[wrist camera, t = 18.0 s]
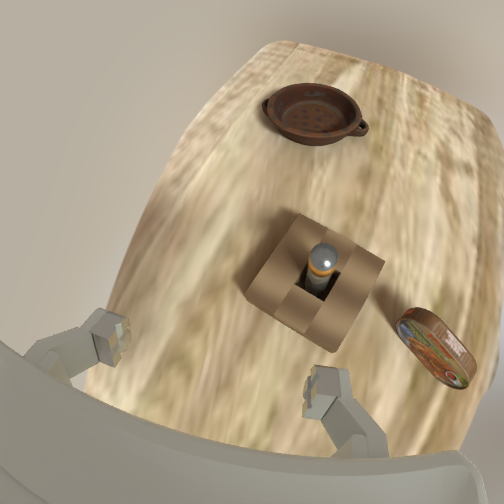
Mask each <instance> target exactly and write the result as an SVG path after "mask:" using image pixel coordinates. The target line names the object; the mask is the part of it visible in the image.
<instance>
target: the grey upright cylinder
mask: <svg viewBox="0 0 504 504" xmlns="http://www.w3.org/2000/svg"><path fill="white" fill-rule="evenodd" d="M338 260H339V257H338V252H337V250H336V248H335V247H334V246H332V245H331V244H328V243H319V244H317V245H315V246H314V247H313V248H312V250H311V251H310V254H309V259H308V270H307V276H306V282H305V290H306V291H307V292H308V293H310V294H312V295H313V296H319V295H321V294H322V293H323V292H324V291H325V288H326V286H327V284H328V282H329V280H330V277H331V275H332V273H333V272H334V270H335V268H336V266H337V264H338Z"/></svg>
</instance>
